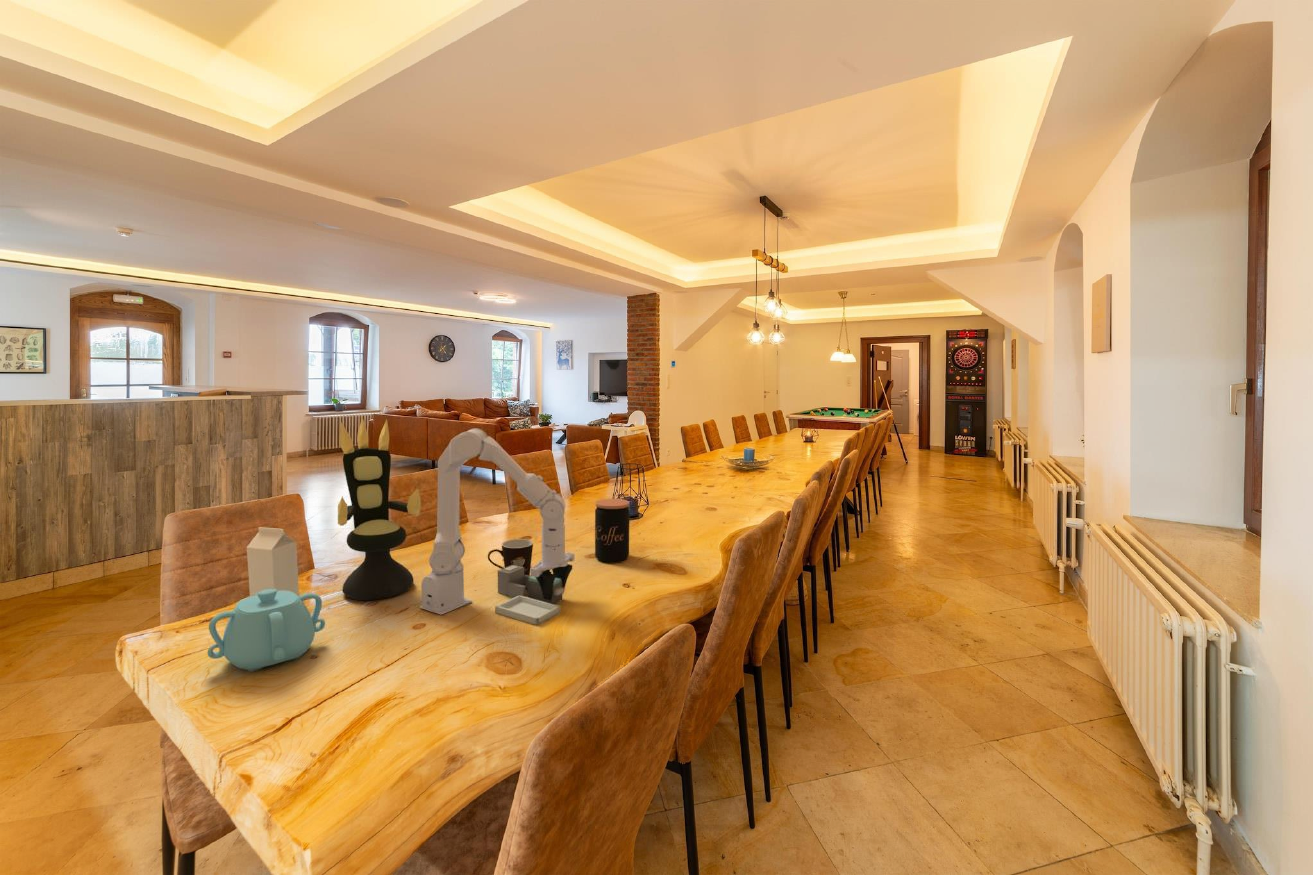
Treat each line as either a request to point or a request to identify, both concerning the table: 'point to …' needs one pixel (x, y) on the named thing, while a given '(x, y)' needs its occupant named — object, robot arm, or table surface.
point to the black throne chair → (373, 518)
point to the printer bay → (512, 581)
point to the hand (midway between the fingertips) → (553, 595)
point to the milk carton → (272, 562)
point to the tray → (527, 609)
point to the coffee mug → (516, 554)
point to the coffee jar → (612, 530)
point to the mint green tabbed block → (536, 591)
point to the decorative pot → (266, 629)
